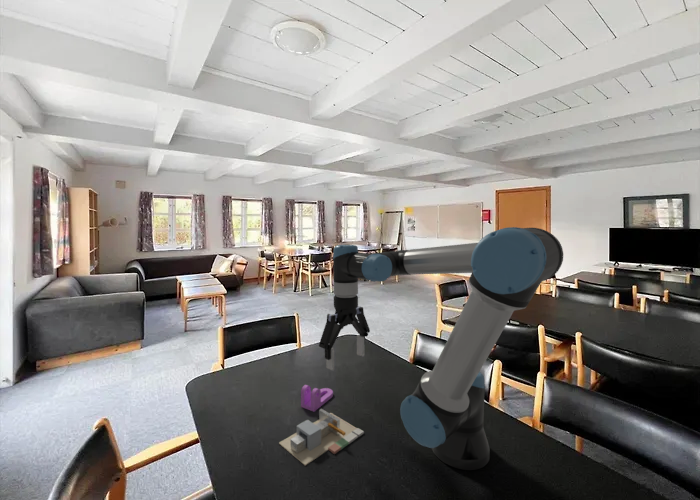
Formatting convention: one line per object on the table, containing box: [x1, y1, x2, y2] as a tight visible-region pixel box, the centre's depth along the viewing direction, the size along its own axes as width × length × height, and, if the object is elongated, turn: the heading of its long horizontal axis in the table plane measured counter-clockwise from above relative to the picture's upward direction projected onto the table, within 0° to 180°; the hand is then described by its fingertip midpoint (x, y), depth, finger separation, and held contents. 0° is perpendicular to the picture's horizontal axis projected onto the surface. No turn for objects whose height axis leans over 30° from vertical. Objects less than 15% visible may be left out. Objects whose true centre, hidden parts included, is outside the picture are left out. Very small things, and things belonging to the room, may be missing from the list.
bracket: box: [300, 384, 334, 413], centre depth 112 cm, size 13×6×7 cm, turn 149°
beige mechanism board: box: [278, 412, 365, 467], centre depth 92 cm, size 14×20×5 cm
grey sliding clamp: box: [290, 408, 345, 453], centre depth 90 cm, size 12×14×5 cm
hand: (346, 361), depth 100 cm, fingers open, 13 cm apart
